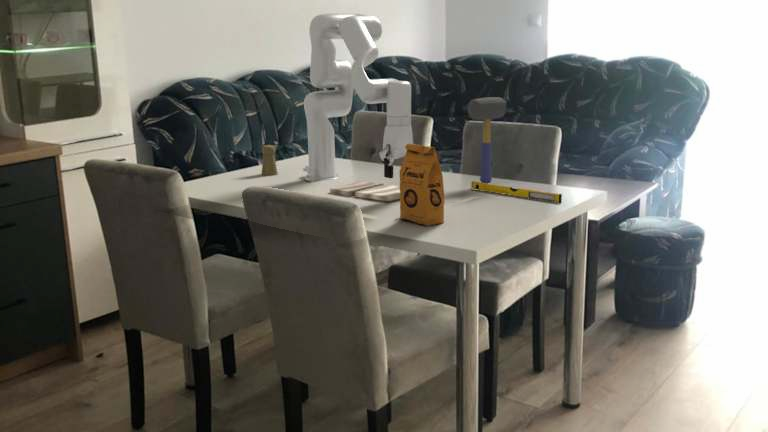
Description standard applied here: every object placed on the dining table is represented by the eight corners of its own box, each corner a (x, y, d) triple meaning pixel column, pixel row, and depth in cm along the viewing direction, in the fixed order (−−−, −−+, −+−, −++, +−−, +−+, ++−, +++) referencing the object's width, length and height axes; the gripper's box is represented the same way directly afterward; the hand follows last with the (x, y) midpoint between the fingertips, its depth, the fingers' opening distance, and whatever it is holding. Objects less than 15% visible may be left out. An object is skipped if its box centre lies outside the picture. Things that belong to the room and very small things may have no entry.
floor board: (328, 195, 270) (327, 188, 269) (362, 187, 282) (362, 180, 282) (388, 206, 253) (388, 198, 253) (422, 197, 266) (422, 189, 265)
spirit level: (471, 190, 277) (471, 181, 277) (473, 189, 278) (473, 181, 277) (559, 203, 256) (559, 194, 255) (561, 203, 256) (561, 193, 256)
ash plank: (355, 196, 263) (355, 191, 263) (385, 189, 274) (385, 184, 274) (388, 201, 254) (388, 196, 254) (418, 193, 265) (418, 188, 265)
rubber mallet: (478, 188, 279) (479, 99, 272) (464, 184, 286) (465, 97, 279) (506, 183, 286) (508, 97, 279) (492, 180, 292) (494, 95, 285)
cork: (280, 173, 310) (279, 144, 307) (270, 176, 305) (269, 146, 303) (268, 172, 313) (267, 143, 311) (258, 174, 308) (256, 145, 306)
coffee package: (423, 228, 227) (423, 149, 221) (395, 220, 236) (394, 144, 231) (450, 222, 233) (450, 145, 227) (421, 215, 242) (421, 140, 237)
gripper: (407, 117, 264) (406, 169, 268) (371, 123, 251) (371, 178, 256) (425, 119, 259) (424, 172, 264) (390, 125, 247) (390, 181, 251)
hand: (398, 175), depth 260 cm, fingers open, 9 cm apart
